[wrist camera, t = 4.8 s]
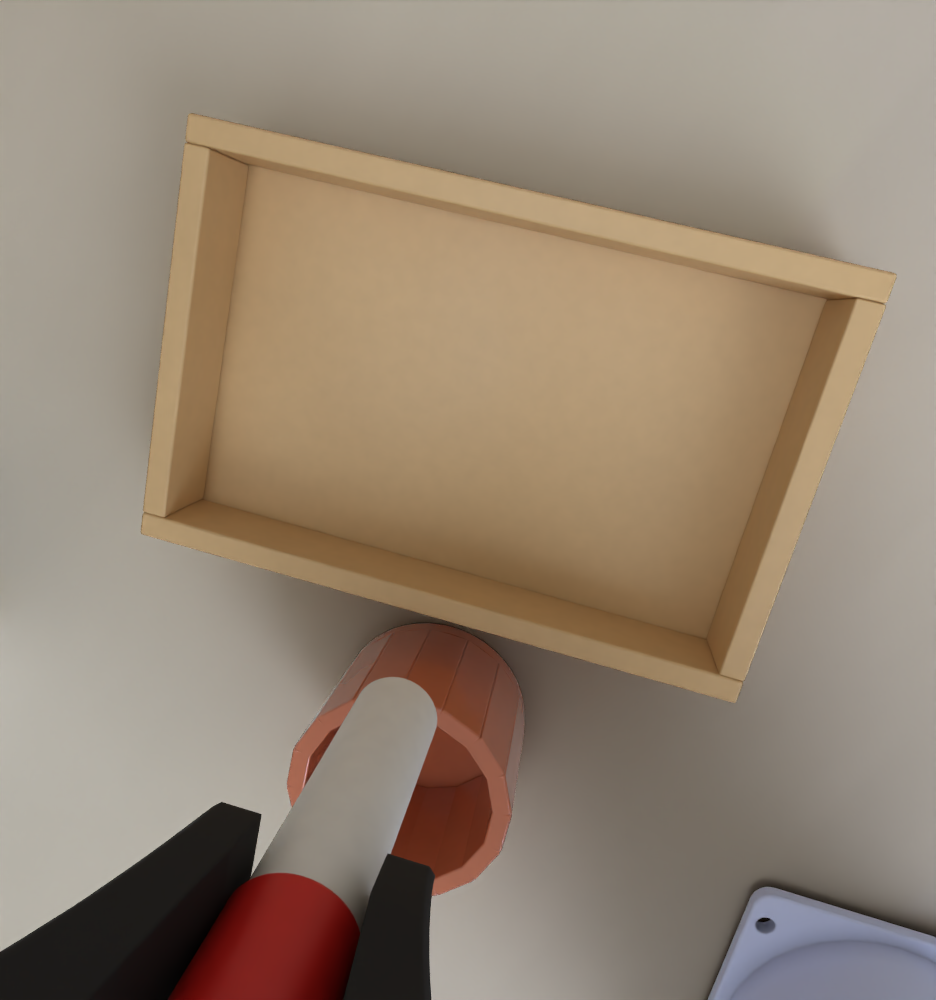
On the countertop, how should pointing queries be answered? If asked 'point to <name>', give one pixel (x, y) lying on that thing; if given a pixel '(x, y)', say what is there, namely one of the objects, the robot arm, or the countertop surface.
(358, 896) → the marker
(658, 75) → the countertop surface
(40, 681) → the countertop surface
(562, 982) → the countertop surface
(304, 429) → the tray
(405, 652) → the cup
